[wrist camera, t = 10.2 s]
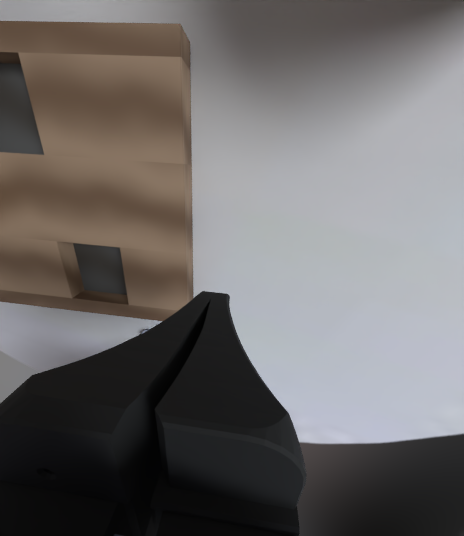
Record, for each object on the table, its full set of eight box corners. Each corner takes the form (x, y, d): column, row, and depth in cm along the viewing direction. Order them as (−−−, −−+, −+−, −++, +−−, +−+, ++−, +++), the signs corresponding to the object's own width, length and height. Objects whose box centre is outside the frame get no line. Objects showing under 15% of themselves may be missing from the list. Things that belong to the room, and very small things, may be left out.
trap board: (193, 312, 24) (188, 324, 22) (7, 290, 25) (-12, 300, 23) (190, 42, 15) (180, 23, 13) (-97, 36, 16) (-141, 18, 14)
